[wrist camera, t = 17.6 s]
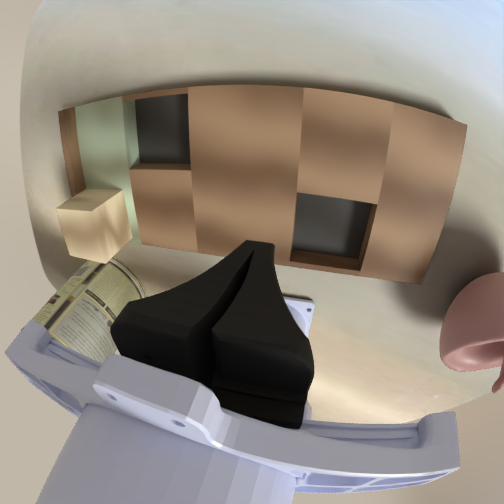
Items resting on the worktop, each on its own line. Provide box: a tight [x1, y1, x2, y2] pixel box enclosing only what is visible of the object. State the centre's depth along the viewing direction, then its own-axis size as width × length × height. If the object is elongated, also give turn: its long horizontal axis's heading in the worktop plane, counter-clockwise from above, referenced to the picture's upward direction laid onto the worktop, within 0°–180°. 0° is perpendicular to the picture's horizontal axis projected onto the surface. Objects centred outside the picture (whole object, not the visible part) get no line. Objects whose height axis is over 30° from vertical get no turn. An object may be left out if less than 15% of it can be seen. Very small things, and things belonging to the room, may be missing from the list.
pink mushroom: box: [440, 272, 504, 393], centre depth 17 cm, size 12×12×11 cm
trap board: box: [58, 85, 467, 284], centre depth 20 cm, size 14×33×4 cm, turn 89°
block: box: [56, 189, 132, 264], centre depth 22 cm, size 5×5×4 cm
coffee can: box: [21, 258, 145, 363], centre depth 28 cm, size 10×10×14 cm
